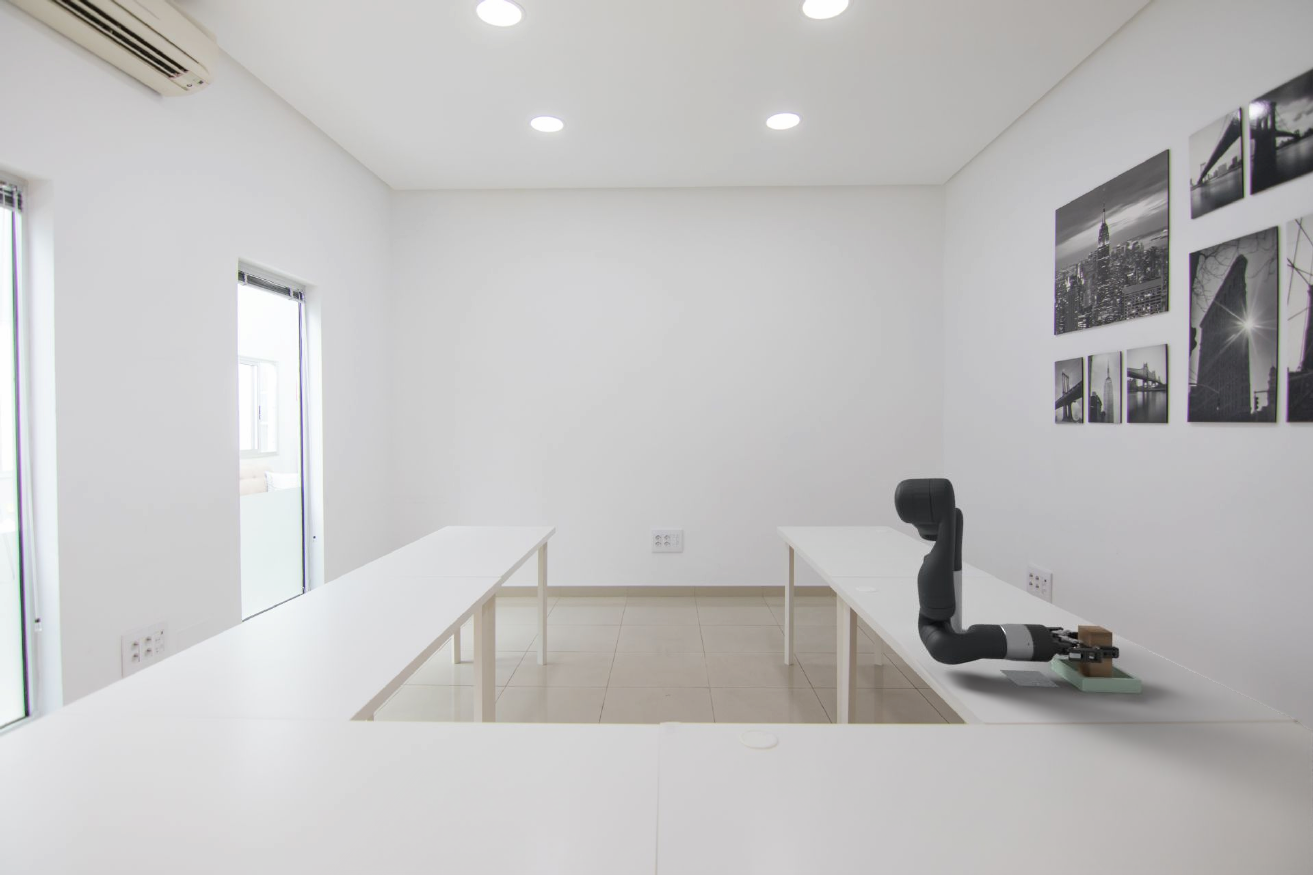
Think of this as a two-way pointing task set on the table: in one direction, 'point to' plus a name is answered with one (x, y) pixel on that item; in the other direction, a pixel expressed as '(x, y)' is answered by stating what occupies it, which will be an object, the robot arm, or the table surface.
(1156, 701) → the table surface
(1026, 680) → the mount plate
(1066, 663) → the tray
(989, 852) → the table surface
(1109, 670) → the block
